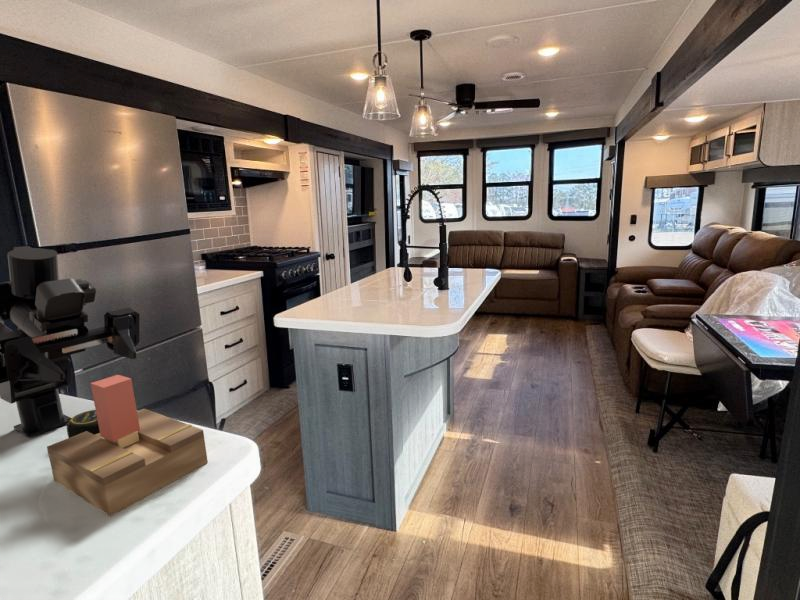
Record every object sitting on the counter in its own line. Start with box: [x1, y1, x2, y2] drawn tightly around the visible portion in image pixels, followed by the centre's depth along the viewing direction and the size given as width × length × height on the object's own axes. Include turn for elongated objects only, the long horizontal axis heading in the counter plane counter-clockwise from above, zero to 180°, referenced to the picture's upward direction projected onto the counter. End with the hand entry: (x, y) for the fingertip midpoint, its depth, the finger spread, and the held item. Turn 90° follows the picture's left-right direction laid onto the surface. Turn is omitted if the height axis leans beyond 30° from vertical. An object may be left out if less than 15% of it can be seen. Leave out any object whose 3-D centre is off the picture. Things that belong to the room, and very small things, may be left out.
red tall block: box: [90, 374, 140, 448], centre depth 62 cm, size 4×4×9 cm
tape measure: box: [66, 409, 100, 438], centre depth 73 cm, size 7×7×4 cm
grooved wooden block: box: [46, 408, 209, 517], centre depth 62 cm, size 15×13×5 cm
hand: (100, 365), depth 62 cm, fingers open, 9 cm apart
